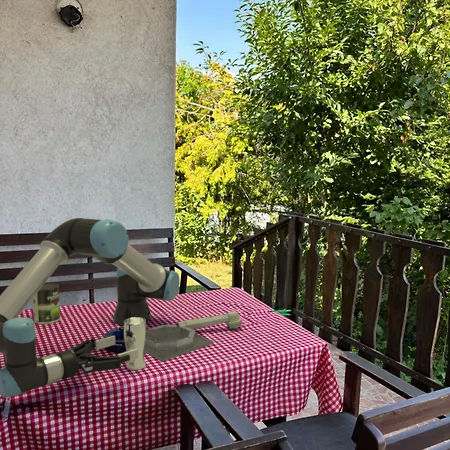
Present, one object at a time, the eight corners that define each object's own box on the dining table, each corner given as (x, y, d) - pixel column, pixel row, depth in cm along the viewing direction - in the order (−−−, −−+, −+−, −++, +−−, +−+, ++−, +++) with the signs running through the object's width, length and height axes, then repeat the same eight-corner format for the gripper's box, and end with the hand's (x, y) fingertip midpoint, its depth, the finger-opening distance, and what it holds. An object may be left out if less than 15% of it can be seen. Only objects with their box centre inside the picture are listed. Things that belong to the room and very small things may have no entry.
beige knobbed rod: (175, 320, 173) (238, 306, 179) (178, 336, 174) (240, 322, 180) (177, 324, 168) (241, 310, 174) (180, 341, 169) (244, 327, 175)
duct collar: (126, 341, 164) (126, 332, 163) (175, 327, 178) (175, 318, 178) (162, 361, 148) (162, 351, 147) (213, 343, 162) (213, 334, 162)
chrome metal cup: (128, 372, 140) (127, 325, 138) (122, 363, 146) (121, 318, 144) (149, 368, 143) (149, 322, 141) (143, 359, 149) (142, 315, 147)
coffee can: (66, 317, 189) (64, 284, 187) (48, 325, 179) (46, 291, 177) (46, 314, 193) (45, 282, 191) (27, 322, 183) (26, 288, 181)
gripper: (41, 364, 136) (106, 345, 150) (78, 396, 118) (148, 371, 132) (40, 341, 135) (105, 324, 149) (77, 369, 117) (147, 346, 131)
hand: (125, 346), depth 141 cm, fingers open, 13 cm apart
